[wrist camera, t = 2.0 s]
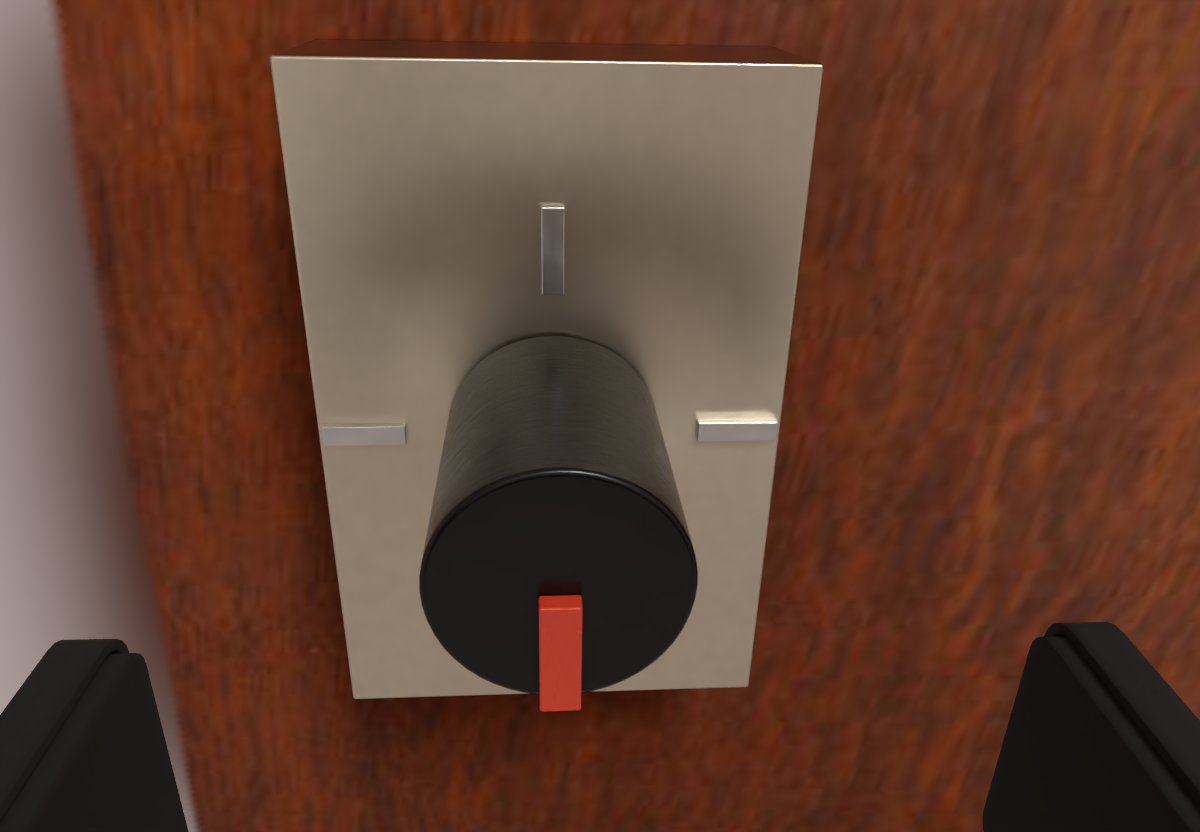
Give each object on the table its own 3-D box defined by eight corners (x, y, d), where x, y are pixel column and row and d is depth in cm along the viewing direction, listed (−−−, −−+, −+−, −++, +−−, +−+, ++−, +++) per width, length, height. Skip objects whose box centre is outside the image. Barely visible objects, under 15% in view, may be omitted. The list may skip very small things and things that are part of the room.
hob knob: (442, 334, 15) (405, 485, 11) (662, 333, 15) (713, 481, 11) (453, 521, 16) (424, 718, 12) (652, 517, 17) (692, 710, 12)
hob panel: (314, 39, 16) (265, 56, 13) (776, 47, 16) (827, 64, 13) (375, 605, 21) (351, 706, 18) (722, 597, 21) (750, 693, 19)
